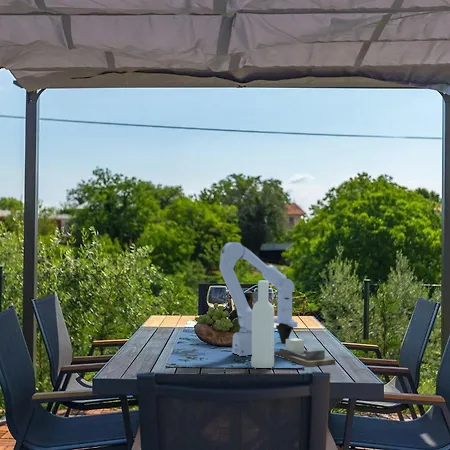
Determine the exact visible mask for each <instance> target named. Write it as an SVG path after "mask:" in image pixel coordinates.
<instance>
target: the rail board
mask: <svg viewBox="0 0 450 450" xmlns="http://www.w3.org/2000/svg"><path fill="white" fill-rule="evenodd" d="M325 353H326V352H325V349H322V348H321V349H309V350H306V349H304V353H303V354H298V353H295V352H291V351H288V350H286V348H278V351H274V354H275V355H278V356H281V357H284V358H286V359H289V360H291V362H292V361H294V362H293V363H295V364H296V363H297V364H300V365H303V366H306V367H315V366H316V367H317V366H325V365H334V364H336V359H334V358H332V357H328V356H326V354H325ZM286 359H285V360H286ZM289 360H288V361H289Z"/></svg>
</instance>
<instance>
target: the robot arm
mask: <svg viewBox="0 0 450 450" xmlns="http://www.w3.org/2000/svg"><path fill="white" fill-rule="evenodd" d="M238 260H245V261H247V262H248V263H249V264H251V265H252V266H253V267H254V268H256V269H257V270H258V271H260V272H261V274H262V277H263V278H264V279H265V281H269V284H271V285H272V286H273V287H275V288H276V291H277V313H276V317H274V324H276V325H275V328H276V330H277V333H278V335H279V338H280V343H281V344H283V345H284V344H285V345H286V339H290V336H291V333H292V331H293V329H294V328H298V321H295V320H294V318H293V292H294V290H295V284H294V282H293V281H292V280H291V279H290V278H287V275H286V274H285V273H282V272H280V271H279V269H278V266H275V265H267V264H266V263H264V261H263V260H261V259H260V258H259V257H258V256H257V255H256V254H255V253H253V252H252V251H251V250H250V249H249V248H247V247H245V246H244V245H242V244H241V243H240V242H237V241H234V242H232V241H231V242H227V243H225V244H224V245H223V246H222V249H221V251H220V259H219V265H218V266H219V267H218V269H219V271H220V274H221V275H222V278H223V280H224V282H225V285H226V287H227V289H228V293H229V294H230V296H231V297H230V298H231V299H232V302H233V304H234V306H235V308H236V315H237V318H238V322H237V323H238V326H240V327H239V330H238V332H235V333H233V335H232V352H233V353H236V354H238V355H249V354H252V309H251V307H250V305H249V303H248V301H247V298H246V296H245V293H244V292H243V288H242V287H241V284H240V282H239V280H238V279H239V278H238V277H237V275H236V272H235V270H234V267H235V266H236V264H237V262H238ZM277 324H278V325H277ZM232 352H231V353H232Z"/></svg>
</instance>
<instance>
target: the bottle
mask: <svg viewBox="0 0 450 450" xmlns="http://www.w3.org/2000/svg"><path fill="white" fill-rule="evenodd" d="M269 286H270V282H269V281H267V280H266V279H265V280H263V279H262V280H261V279H260V280H258V281H257V288H258V289H257V301H256V302H255V303H254V304H253V306H252V309H251V310H252V356H250V358H251V360H250V362H251V367H252V366H254V367H258V368H269V367H273V366H274V365H275V356H274V352H275V323H274V318H275V309H274V306H273V304H272V303H271V302H270V301H269V291H270V290H269ZM274 367H275V366H274ZM274 367H273V368H274Z"/></svg>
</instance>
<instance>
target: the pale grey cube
mask: <svg viewBox="0 0 450 450" xmlns="http://www.w3.org/2000/svg"><path fill="white" fill-rule="evenodd" d="M285 350H288V351H291V352H295V353H298V354H303V353H304V350H305V340H304V339H303V338H302V339H301V338H297V337H295V338H289V339H286V344H285Z"/></svg>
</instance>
